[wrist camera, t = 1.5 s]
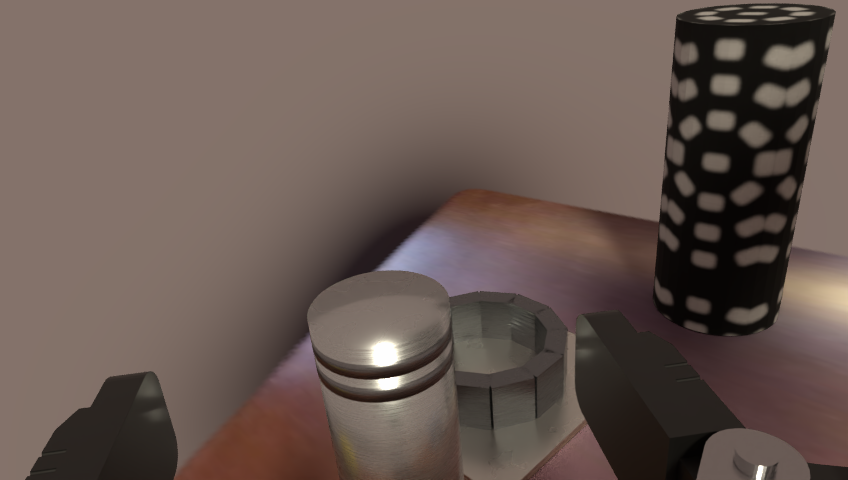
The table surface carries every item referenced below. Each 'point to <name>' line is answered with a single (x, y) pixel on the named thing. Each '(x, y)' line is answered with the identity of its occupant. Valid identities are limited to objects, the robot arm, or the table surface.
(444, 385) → the piston
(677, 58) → the white-spotted black cylinder
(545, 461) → the ring collar
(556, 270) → the table surface
